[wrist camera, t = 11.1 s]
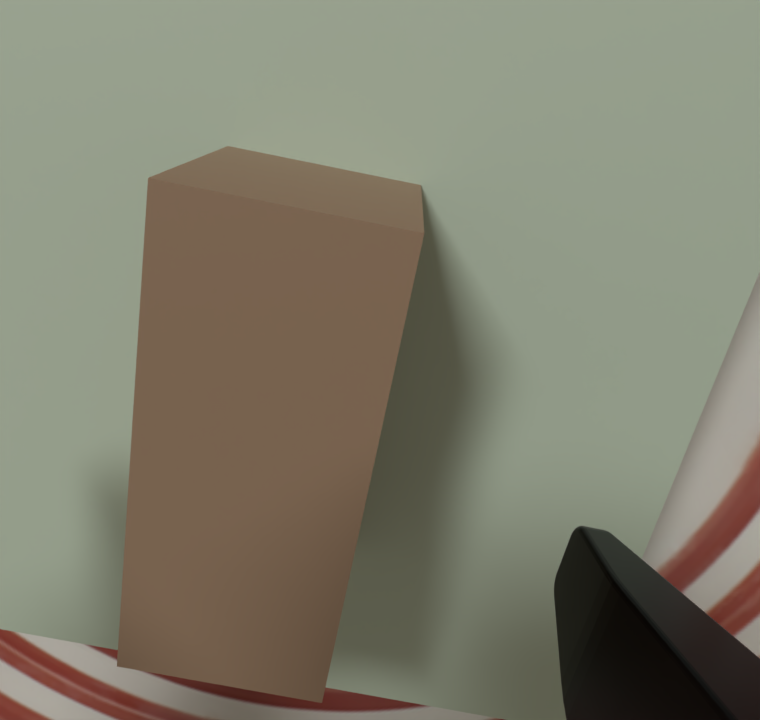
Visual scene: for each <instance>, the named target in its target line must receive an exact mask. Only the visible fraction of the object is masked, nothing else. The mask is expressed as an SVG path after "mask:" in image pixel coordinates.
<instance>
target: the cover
mask: <svg viewBox="0 0 760 720" xmlns="http://www.w3.org/2000/svg"><path fill="white" fill-rule="evenodd" d="M759 272H760V0H0V629H3V630H8V631H14V632H19V633H25V634H31V635H36V636H42V637H47V638H53V639H58V640H64V641H70V642H75V643H81V644H86V645H92V646H97V647H103V648H109V649H114V650H118V655H117V667H123V668H128V669H134V670H140V671H145V672H151V673H156V674H162V675H168V676H173V677H179V678H184V679H190V680H196V681H201V682H207V683H212V684H218V685H224V686H229V687H235V688H240V689H246V690H252V691H257V692H263V693H268V694H274V695H280V696H285V697H291V698H296V699H302V700H308V701H313V702H319V703H322V701H323V696H324V691H325V687H326V688H332V689H337V690H343V691H348V692H354V693H360V694H365V695H371V696H376V697H382V698H387V699H393V700H399V701H404V702H410V703H415V704H421V705H426V706H432V707H438V708H443V709H449V710H454V711H460V712H466V713H471V714H477V715H482V716H488V717H493V718H499V719H505V720H566V715H565V709H564V703H563V695H562V686H561V675H560V663H559V651H558V639H557V627H556V615H555V602H554V582H555V577H556V574H557V571H558V568H559V566H560V563H561V560H562V558H563V555H564V552H565V550H566V547H567V544H568V541H569V539H570V536H571V534H572V532H573V531H574V529H575V528H577V527H578V526H587V527H592V528H597V529H602V530H606V531H609V532H610V533H611V534H613V535H614V536H615V537H616V538H617V539H619V540H620V541H621V542H622V543H623V544H624V545H626V546H627V547H628V548H629V549H630V550H632V551H633V552H634V553H635V554H636V555H638V556H639V557H640V558H641V559H642V557H643V554H644V552H645V550H646V547H647V545H648V542H649V540H650V537H651V535H652V533H653V530H654V528H655V525H656V523H657V520H658V518H659V515H660V513H661V511H662V508H663V506H664V503H665V501H666V498H667V496H668V494H669V491H670V489H671V486H672V484H673V481H674V479H675V477H676V474H677V472H678V469H679V467H680V464H681V462H682V460H683V457H684V455H685V452H686V450H687V447H688V445H689V443H690V440H691V438H692V435H693V433H694V430H695V428H696V426H697V423H698V421H699V418H700V416H701V413H702V411H703V408H704V406H705V404H706V401H707V399H708V396H709V394H710V391H711V389H712V387H713V384H714V382H715V379H716V377H717V374H718V372H719V370H720V367H721V365H722V362H723V360H724V357H725V355H726V353H727V350H728V348H729V345H730V343H731V340H732V338H733V336H734V333H735V331H736V328H737V326H738V323H739V321H740V318H741V316H742V314H743V311H744V309H745V306H746V304H747V301H748V299H749V297H750V294H751V292H752V289H753V287H754V284H755V282H756V280H757V277H758V275H759Z"/></svg>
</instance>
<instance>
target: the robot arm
mask: <svg viewBox="0 0 760 720" xmlns="http://www.w3.org/2000/svg"><path fill="white" fill-rule="evenodd" d="M554 602H555V615H556V627H557V639H558V651H559V663H560V675H561V686H562V695H563V703H564V709H565V715H566V720H760V658H759V657H758V656H756V655H755V654H754V653H753V652H752V651H751V650H749V649H748V648H747V647H746V646H745V645H743V644H742V643H741V642H740V641H739V640H737V639H736V638H735V637H734V636H733V635H731V634H730V633H729V632H728V631H727V630H726V629H724V628H723V627H722V626H721V625H720V624H718V623H717V622H716V621H715V620H714V619H712V618H711V617H710V616H709V615H708V614H707V613H705V612H704V611H703V610H702V609H701V608H699V607H698V606H697V605H696V604H695V603H693V602H692V601H691V600H690V599H689V598H687V597H686V596H685V595H684V594H683V593H682V592H680V591H679V590H678V589H677V588H676V587H674V586H673V585H672V584H671V583H670V582H668V581H667V580H666V579H665V578H664V577H663V576H661V575H660V574H659V573H658V572H657V571H655V570H654V569H653V568H652V567H651V566H649V565H648V564H647V563H646V562H645V561H643V560H642V559H641V558H640V557H639V556H638V555H636V554H635V553H634V552H633V551H632V550H630V549H629V548H628V547H627V546H626V545H624V544H623V543H622V542H621V541H620V540H619V539H617V538H616V537H615V536H614V535H613V534H611V533H610V532H609V531H606V530H602V529H597V528H592V527H587V526H578V527H577V528H575V529H574V531H573V532H572V534H571V536H570V539H569V541H568V544H567V547H566V550H565V552H564V555H563V558H562V560H561V563H560V566H559V568H558V571H557V574H556V577H555V582H554Z"/></svg>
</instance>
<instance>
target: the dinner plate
mask: <svg viewBox="0 0 760 720" xmlns="http://www.w3.org/2000/svg"><path fill="white" fill-rule="evenodd" d="M642 560H643V561H645V562H646V563H647V564H648V565H649V566H651V567H652V568H653V569H654V570H655V571H657V572H658V573H659V574H660V575H661V576H663V577H664V578H665V579H666V580H667V581H668V582H670V583H671V584H672V585H673V586H674V587H676V588H677V589H678V590H679V591H680V592H682V593H683V594H684V595H685V596H686V597H687V598H689V599H690V600H691V601H692V602H693V603H695V604H696V605H697V606H698V607H699V608H701V609H702V610H703V611H704V612H705V613H707V614H708V615H709V616H710V617H711V618H712V619H714V620H715V621H716V622H717V623H718V624H720V625H721V626H722V627H723V628H724V629H726V630H727V631H728V632H729V633H730V634H731V635H733V636H734V637H735V638H736V639H737V640H739V641H740V642H741V643H742V644H743V645H745V646H746V647H747V648H748V649H749V650H751V651H752V652H753V653H754V654H755V655H756V656H758V657H759V658H760V272H759V275H758V277H757V280H756V282H755V284H754V287H753V289H752V292H751V294H750V297H749V299H748V301H747V304H746V306H745V309H744V311H743V314H742V316H741V318H740V321H739V323H738V326H737V328H736V331H735V333H734V336H733V338H732V340H731V343H730V345H729V348H728V350H727V353H726V355H725V357H724V360H723V362H722V365H721V367H720V370H719V372H718V374H717V377H716V379H715V382H714V384H713V387H712V389H711V391H710V394H709V396H708V399H707V401H706V404H705V406H704V408H703V411H702V413H701V416H700V418H699V421H698V423H697V426H696V428H695V430H694V433H693V435H692V438H691V440H690V443H689V445H688V447H687V450H686V452H685V455H684V457H683V460H682V462H681V464H680V467H679V469H678V472H677V474H676V477H675V479H674V481H673V484H672V486H671V489H670V491H669V494H668V496H667V498H666V501H665V503H664V506H663V508H662V511H661V513H660V515H659V518H658V520H657V523H656V525H655V528H654V530H653V533H652V535H651V537H650V540H649V542H648V545H647V547H646V550H645V552H644V554H643V557H642ZM117 655H118V650H114V649H109V648H103V647H97V646H92V645H86V644H81V643H75V642H70V641H64V640H58V639H53V638H47V637H42V636H36V635H31V634H25V633H19V632H14V631H8V630H3V629H0V720H505V719H499V718H493V717H488V716H482V715H477V714H471V713H466V712H460V711H454V710H449V709H443V708H438V707H432V706H426V705H421V704H415V703H410V702H404V701H399V700H393V699H387V698H382V697H376V696H371V695H365V694H360V693H354V692H348V691H343V690H337V689H332V688H326V687H325V691H324V696H323V701H322V703H319V702H313V701H308V700H302V699H296V698H291V697H285V696H280V695H274V694H268V693H263V692H257V691H252V690H246V689H240V688H235V687H229V686H224V685H218V684H212V683H207V682H201V681H196V680H190V679H184V678H179V677H173V676H168V675H162V674H156V673H151V672H145V671H140V670H134V669H128V668H123V667H117Z"/></svg>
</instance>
